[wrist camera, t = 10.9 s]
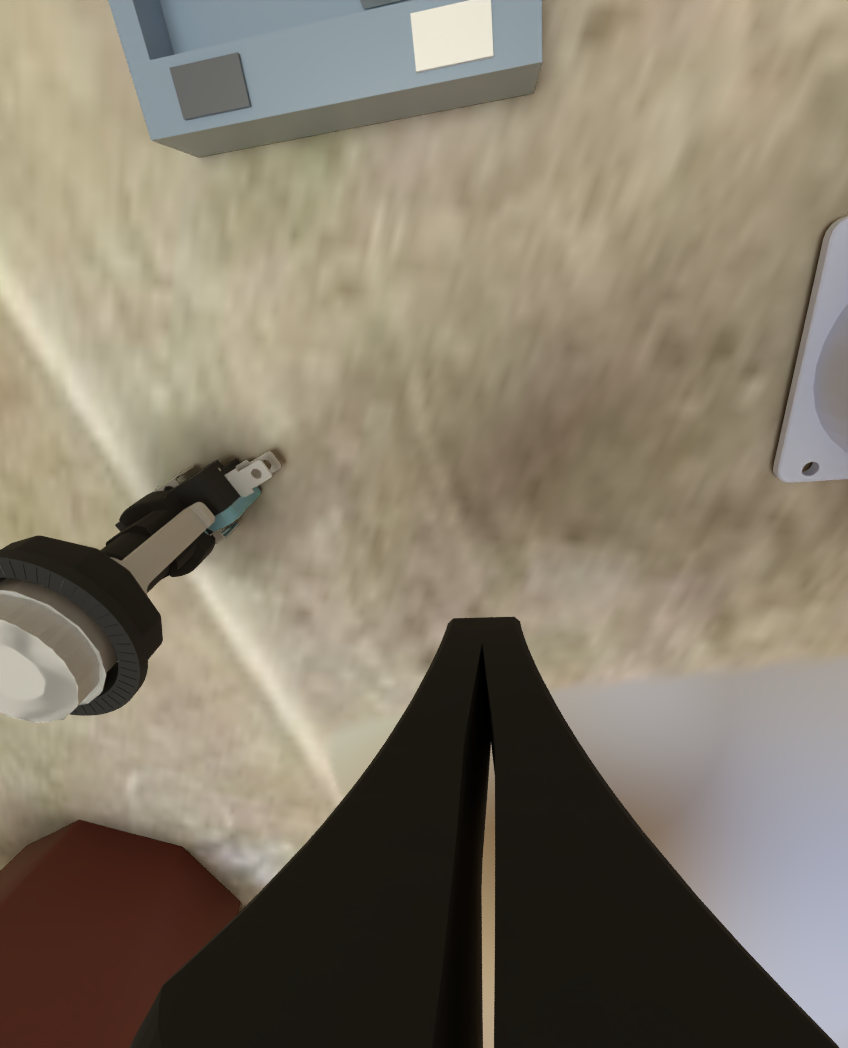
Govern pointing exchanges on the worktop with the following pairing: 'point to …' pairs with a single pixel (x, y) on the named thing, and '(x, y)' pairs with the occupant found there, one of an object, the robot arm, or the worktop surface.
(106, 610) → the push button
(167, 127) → the dip bank
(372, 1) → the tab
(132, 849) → the bucket
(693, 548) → the worktop surface
